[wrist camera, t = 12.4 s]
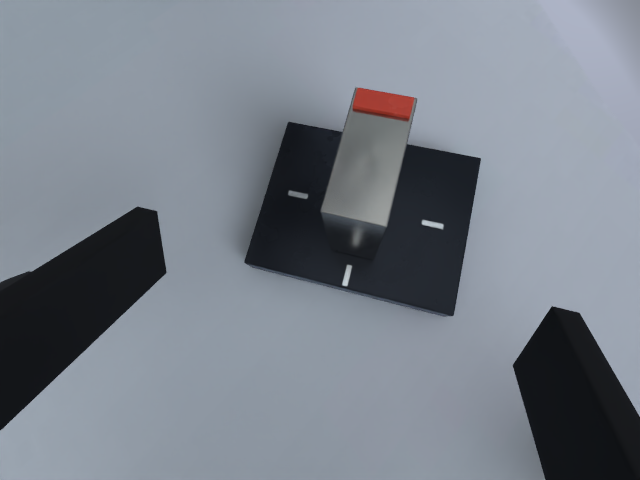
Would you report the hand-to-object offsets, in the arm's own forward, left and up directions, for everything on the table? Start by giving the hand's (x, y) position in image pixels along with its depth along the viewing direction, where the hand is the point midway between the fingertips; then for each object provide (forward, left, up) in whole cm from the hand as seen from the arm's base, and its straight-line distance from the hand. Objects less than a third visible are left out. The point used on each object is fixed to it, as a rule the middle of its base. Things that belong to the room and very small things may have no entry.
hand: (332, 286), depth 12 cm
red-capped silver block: (-6, +1, -11) cm, 12 cm away
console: (-6, +1, -13) cm, 14 cm away
